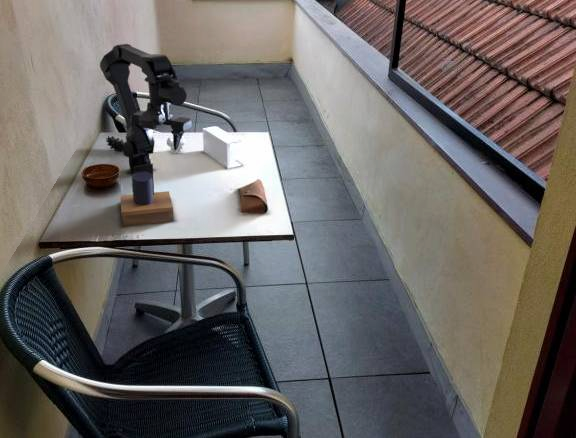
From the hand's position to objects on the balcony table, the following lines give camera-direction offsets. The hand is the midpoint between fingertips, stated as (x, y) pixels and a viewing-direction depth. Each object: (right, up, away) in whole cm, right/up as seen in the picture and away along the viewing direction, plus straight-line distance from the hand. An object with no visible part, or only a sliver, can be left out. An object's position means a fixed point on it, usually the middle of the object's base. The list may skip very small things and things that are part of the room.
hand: (163, 147), depth 172 cm
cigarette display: (+15, 0, +29) cm, 32 cm away
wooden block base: (-2, -21, -11) cm, 23 cm away
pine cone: (-21, +5, +30) cm, 37 cm away
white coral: (-1, +5, +32) cm, 32 cm away
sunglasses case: (+28, -17, -2) cm, 33 cm away
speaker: (-1, -17, -15) cm, 23 cm away
